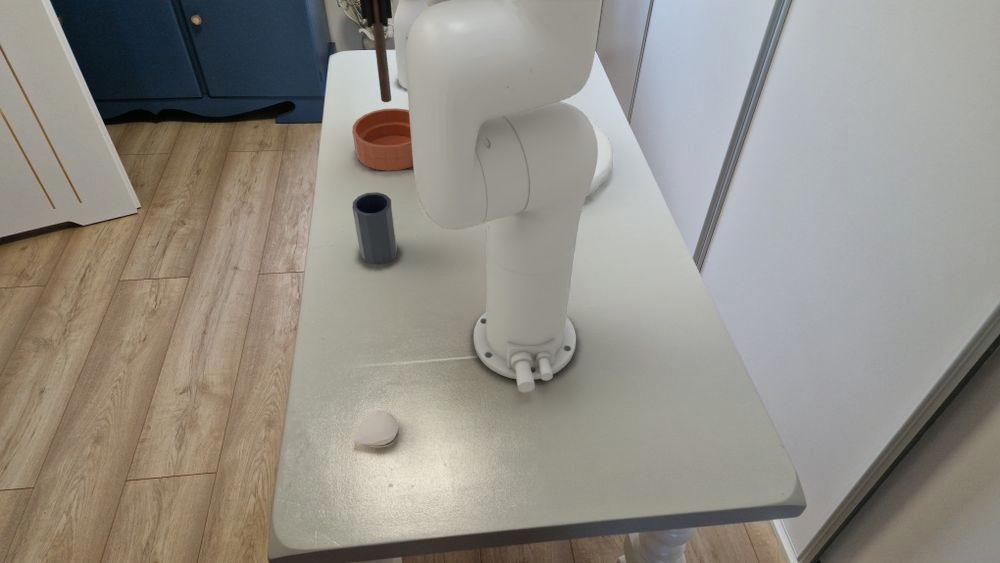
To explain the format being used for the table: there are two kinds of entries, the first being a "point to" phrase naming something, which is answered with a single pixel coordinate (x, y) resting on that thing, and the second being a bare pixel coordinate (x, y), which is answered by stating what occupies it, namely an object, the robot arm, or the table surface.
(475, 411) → the table surface
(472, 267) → the table surface
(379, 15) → the stick
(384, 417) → the grey pebble
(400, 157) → the bowl
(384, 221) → the pot
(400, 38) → the milk bottle
